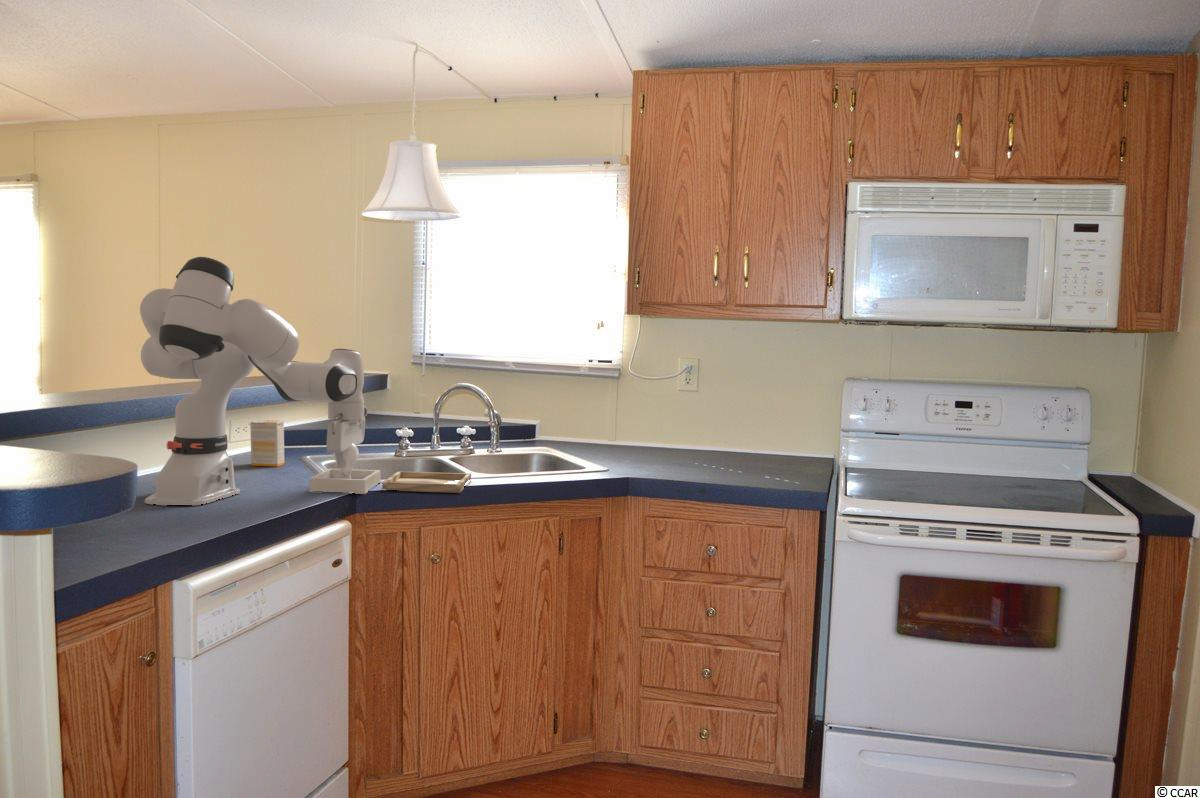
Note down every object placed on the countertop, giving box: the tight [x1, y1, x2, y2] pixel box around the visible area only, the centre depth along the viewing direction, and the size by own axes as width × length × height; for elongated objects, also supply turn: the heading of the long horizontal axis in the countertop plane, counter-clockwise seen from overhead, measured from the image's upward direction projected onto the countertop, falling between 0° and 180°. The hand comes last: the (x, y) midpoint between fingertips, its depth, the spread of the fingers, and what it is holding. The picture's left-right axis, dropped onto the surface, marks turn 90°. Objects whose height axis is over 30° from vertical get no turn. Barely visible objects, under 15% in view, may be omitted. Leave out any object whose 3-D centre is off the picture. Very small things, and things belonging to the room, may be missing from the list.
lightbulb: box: [332, 443, 360, 479], centre depth 224 cm, size 6×6×11 cm
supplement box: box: [249, 419, 285, 468], centre depth 252 cm, size 8×5×13 cm, turn 84°
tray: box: [381, 470, 472, 494], centre depth 230 cm, size 16×20×2 cm
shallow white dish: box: [309, 468, 382, 495], centre depth 224 cm, size 14×14×4 cm
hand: (345, 465), depth 224 cm, fingers closed on lightbulb, 6 cm apart
